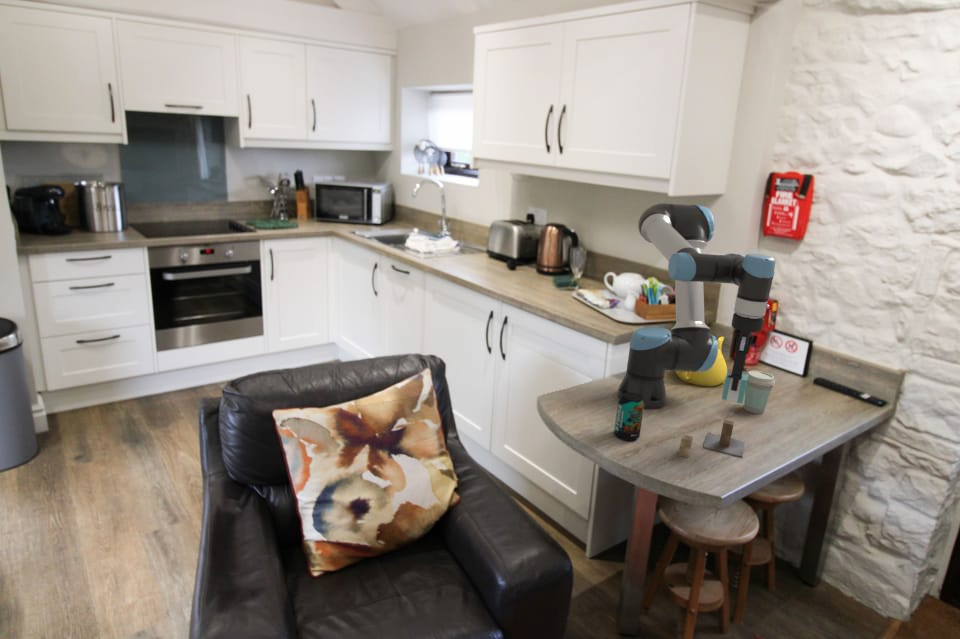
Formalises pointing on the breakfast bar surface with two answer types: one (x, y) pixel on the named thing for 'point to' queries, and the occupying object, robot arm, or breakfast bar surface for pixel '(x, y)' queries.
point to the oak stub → (685, 446)
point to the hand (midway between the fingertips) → (732, 396)
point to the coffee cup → (758, 391)
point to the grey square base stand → (725, 441)
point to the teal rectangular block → (742, 387)
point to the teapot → (708, 372)
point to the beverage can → (629, 416)
